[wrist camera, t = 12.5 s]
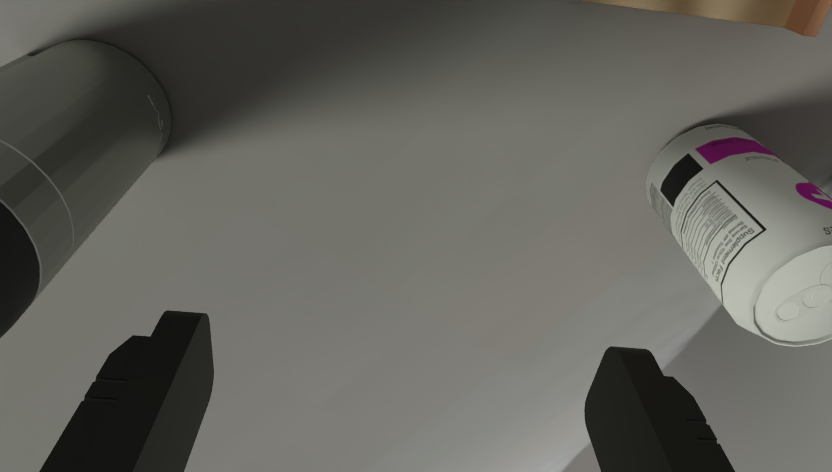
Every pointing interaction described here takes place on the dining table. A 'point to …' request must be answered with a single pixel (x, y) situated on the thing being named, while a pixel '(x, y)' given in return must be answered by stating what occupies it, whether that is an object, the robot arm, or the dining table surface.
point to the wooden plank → (744, 11)
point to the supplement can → (749, 231)
